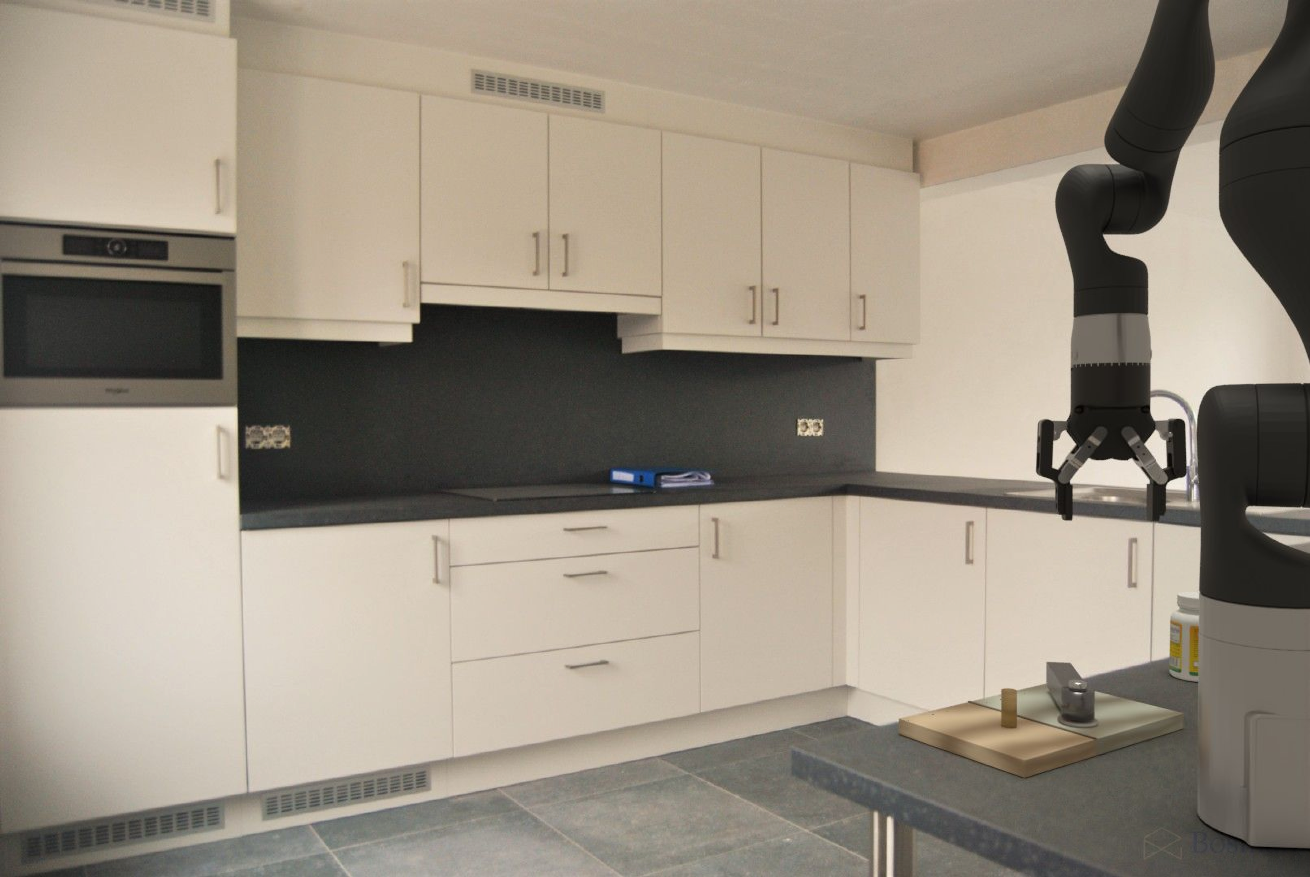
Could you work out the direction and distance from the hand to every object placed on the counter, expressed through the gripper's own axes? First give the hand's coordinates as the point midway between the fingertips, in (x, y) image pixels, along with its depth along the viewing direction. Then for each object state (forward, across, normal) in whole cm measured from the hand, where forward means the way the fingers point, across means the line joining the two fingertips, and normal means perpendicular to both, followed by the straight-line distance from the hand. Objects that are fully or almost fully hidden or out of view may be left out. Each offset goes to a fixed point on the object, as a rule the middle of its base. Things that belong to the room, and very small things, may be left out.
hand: (1109, 520), depth 107 cm
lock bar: (+18, +5, +4) cm, 19 cm away
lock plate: (+20, +8, +7) cm, 23 cm away
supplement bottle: (+20, -13, -16) cm, 29 cm away
